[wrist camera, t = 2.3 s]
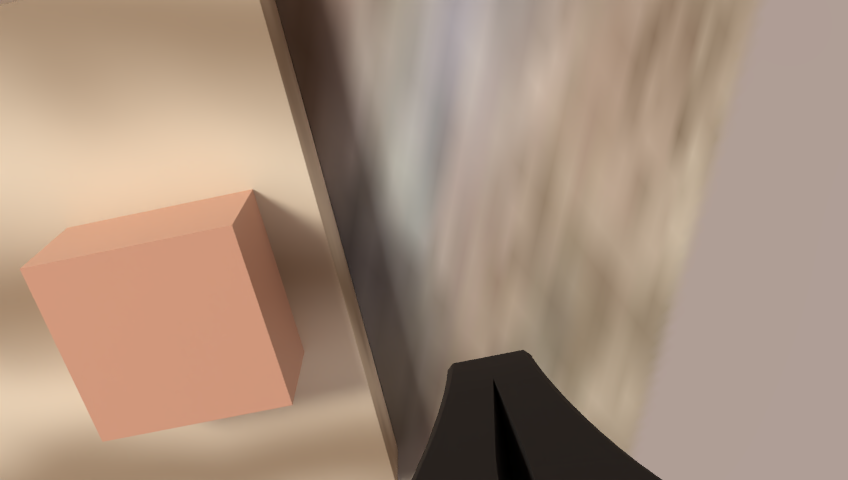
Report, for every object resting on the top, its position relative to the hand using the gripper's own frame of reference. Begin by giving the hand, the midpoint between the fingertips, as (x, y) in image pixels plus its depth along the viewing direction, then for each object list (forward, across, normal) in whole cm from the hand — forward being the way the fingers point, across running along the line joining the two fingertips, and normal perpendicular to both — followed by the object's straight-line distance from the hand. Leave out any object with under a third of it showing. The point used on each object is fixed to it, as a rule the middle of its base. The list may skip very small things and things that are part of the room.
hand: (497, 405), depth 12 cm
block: (+7, +8, 0) cm, 11 cm away
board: (+9, +10, 0) cm, 13 cm away
